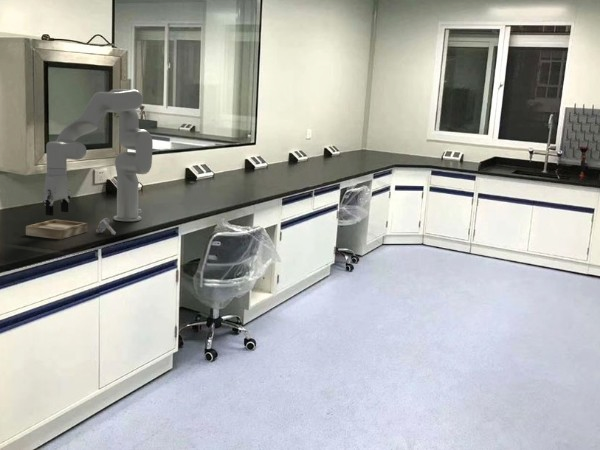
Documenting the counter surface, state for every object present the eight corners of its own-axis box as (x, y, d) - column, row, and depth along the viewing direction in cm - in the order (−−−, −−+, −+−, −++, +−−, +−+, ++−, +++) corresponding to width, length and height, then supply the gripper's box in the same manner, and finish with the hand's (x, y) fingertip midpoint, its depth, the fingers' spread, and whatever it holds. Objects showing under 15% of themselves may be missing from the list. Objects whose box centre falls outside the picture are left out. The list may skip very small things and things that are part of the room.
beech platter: (54, 227, 258) (54, 219, 258) (87, 231, 254) (87, 223, 254) (25, 235, 241) (25, 226, 240) (60, 239, 237) (60, 230, 237)
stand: (94, 232, 252) (101, 218, 249) (103, 231, 256) (111, 217, 253) (105, 244, 250) (112, 230, 246) (114, 243, 254) (121, 229, 250)
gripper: (62, 169, 252) (62, 209, 255) (34, 173, 236) (35, 215, 239) (77, 171, 251) (78, 211, 254) (50, 174, 234) (51, 217, 237)
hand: (57, 213), depth 246 cm, fingers open, 9 cm apart
